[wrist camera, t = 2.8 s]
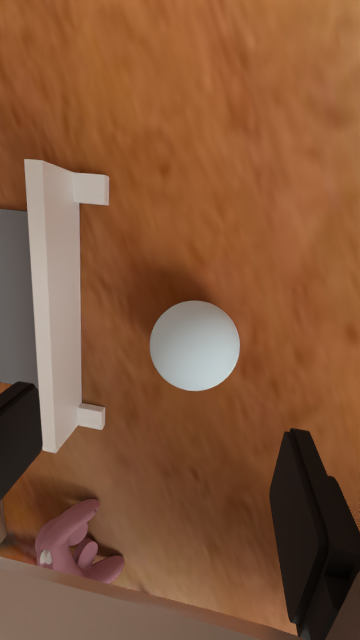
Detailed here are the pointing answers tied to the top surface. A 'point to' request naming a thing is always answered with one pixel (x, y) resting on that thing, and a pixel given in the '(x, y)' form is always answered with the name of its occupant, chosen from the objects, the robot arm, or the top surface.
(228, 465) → the top surface
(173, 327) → the rubber ball
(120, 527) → the top surface
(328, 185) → the top surface
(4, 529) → the rim
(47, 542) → the video game controller
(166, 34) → the top surface
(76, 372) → the divider wall
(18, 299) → the mat
